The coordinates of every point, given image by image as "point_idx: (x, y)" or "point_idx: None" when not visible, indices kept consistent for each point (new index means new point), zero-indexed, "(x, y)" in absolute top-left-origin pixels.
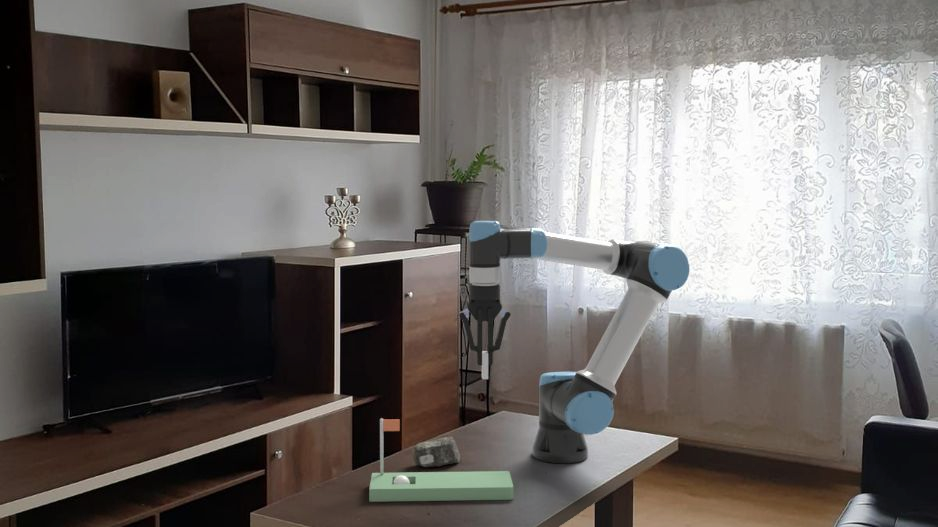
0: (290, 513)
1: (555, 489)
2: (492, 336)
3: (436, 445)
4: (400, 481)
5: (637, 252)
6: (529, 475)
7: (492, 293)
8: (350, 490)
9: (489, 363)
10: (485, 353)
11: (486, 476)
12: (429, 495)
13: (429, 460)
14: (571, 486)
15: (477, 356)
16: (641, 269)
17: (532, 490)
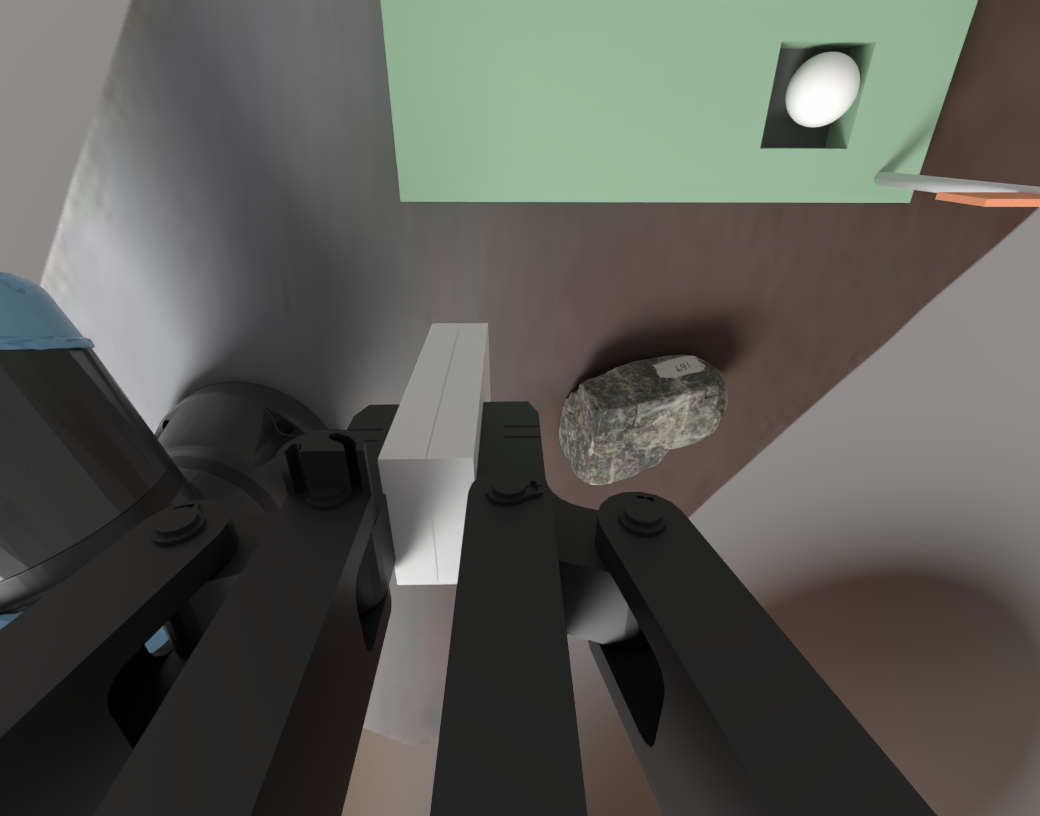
0: None
1: (235, 110)
2: (144, 749)
3: (652, 407)
4: (842, 55)
5: None
6: (340, 275)
7: None
8: (972, 137)
9: (394, 413)
10: (421, 455)
11: (488, 135)
12: None
13: (668, 365)
14: (179, 144)
15: (542, 456)
16: None
17: (320, 102)
